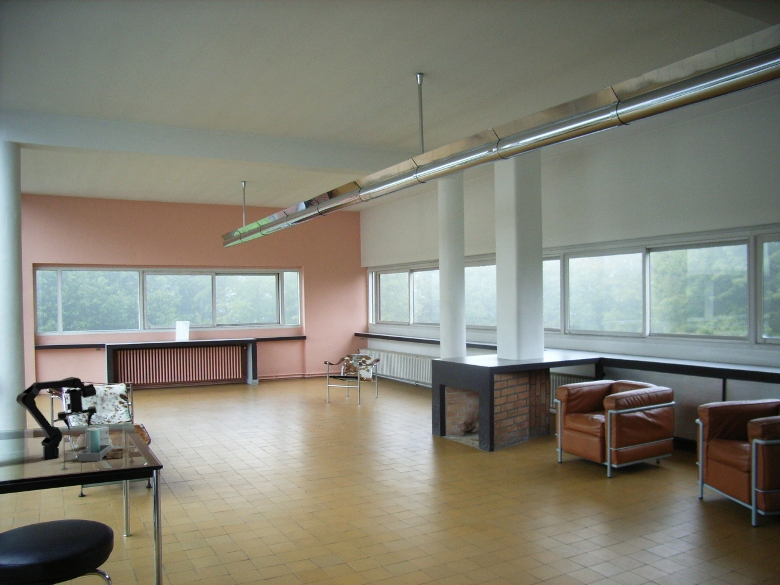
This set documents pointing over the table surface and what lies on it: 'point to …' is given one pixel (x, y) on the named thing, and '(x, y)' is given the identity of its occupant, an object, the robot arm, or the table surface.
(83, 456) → the tray
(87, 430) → the light bulb box
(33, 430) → the table surface
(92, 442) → the dowel
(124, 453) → the socket block
